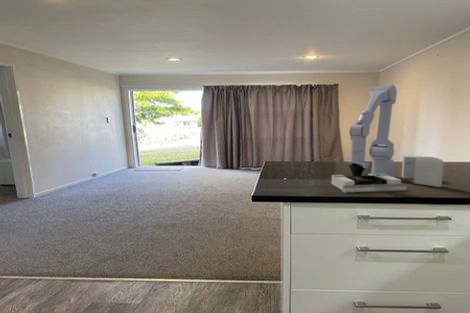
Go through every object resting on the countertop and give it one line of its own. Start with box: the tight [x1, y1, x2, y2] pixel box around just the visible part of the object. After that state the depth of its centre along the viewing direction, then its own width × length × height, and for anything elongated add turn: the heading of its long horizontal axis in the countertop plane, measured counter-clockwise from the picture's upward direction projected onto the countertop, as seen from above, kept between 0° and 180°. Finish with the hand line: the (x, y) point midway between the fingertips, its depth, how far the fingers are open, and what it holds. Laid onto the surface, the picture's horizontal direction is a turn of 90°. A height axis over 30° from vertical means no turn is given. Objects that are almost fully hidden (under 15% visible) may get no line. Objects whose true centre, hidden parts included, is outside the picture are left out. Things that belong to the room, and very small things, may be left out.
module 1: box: [331, 174, 355, 190], centre depth 114 cm, size 4×12×4 cm, turn 5°
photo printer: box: [413, 156, 444, 188], centre depth 116 cm, size 10×4×12 cm, turn 39°
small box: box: [401, 155, 423, 180], centre depth 130 cm, size 8×6×10 cm
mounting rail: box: [341, 182, 407, 194], centre depth 108 cm, size 26×2×2 cm, turn 95°
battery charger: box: [345, 175, 387, 185], centre depth 116 cm, size 13×10×4 cm
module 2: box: [374, 173, 402, 184], centre depth 116 cm, size 4×12×4 cm, turn 5°
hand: (356, 180), depth 122 cm, fingers closed
